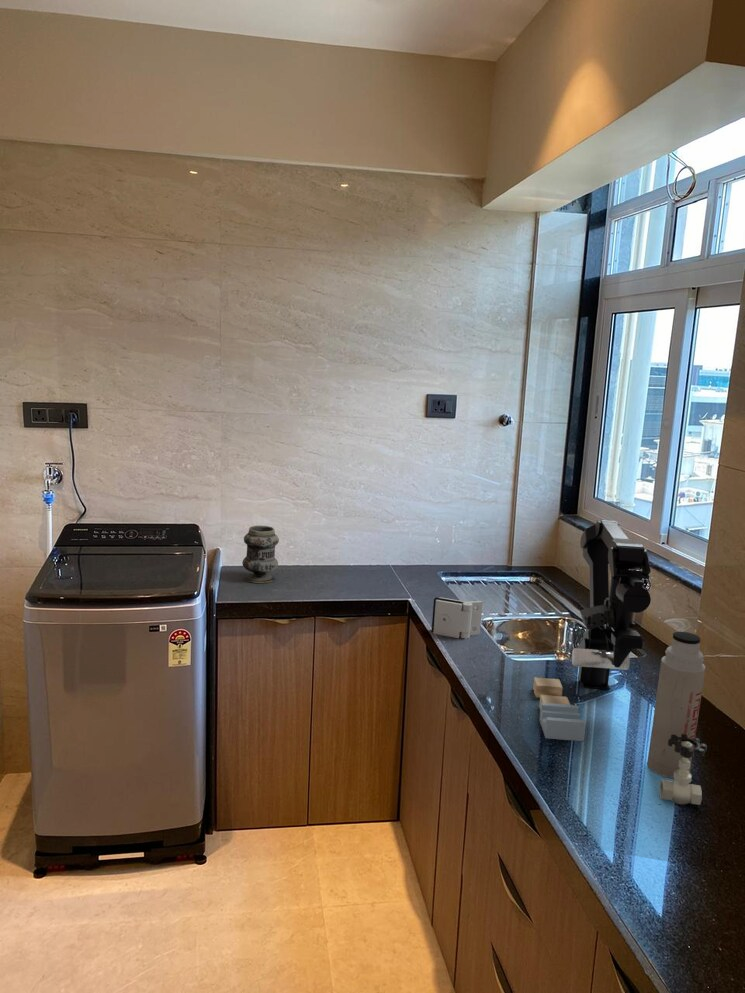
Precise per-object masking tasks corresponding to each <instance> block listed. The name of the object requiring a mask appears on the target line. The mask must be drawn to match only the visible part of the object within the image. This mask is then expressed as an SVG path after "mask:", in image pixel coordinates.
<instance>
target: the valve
mask: <svg viewBox="0 0 745 993" xmlns="http://www.w3.org/2000/svg"><path fill="white" fill-rule="evenodd" d="M682 741H684V742H683V743H682V745H681V742H682ZM700 742H701V740H700V738H698V737H695V738H693V739H690V738H688V736H687V735H686V734H681V737H677V735H674V734H672V735H671V739H669V740H668V745H669V746H671V747H672V744H674V745H675V749H674V751H675V752H677V753H680V755H681V756H682V758H681V759H680V760H679V766H678V767H680V768H679V769H678V770H675V771H674V778H673V779H674V780H668V779H660V780H659V797H660V799H661V800H667V801H672V802H673V803H675V804H678V805H687V804H692V805H699V806H700V805H701V803H702V798H703V794H702V786H701V785H700V784H693V783H691V782H692V774H691V772H690V773H689V771H688V769H689V768H690V761H689V760H688V758H691V757H692V758H693V757H694V756H696V755H698V756H700V757H704V756H705V752H707V749H708V745H707V744H706V743H700ZM691 743H692V744H694V748H692V746H693V745H692V744H691ZM690 769H691V768H690Z"/></svg>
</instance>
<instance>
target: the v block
mask: <svg viewBox="0 0 745 993" xmlns="http://www.w3.org/2000/svg"><path fill="white" fill-rule="evenodd" d="M579 710H580V707H579V704H578V705H574V704H570V705H566V704H553V703H541V710H540V709H539V723H540V727H541V729H542V732H543V734H544V738H545V739H549V740H550V739H553V740H564V741H577V742H585V740H584V739H585V733H586V724H587V723H586V720H585V719H580V716H581V714H580V713H579V712H580V711H579Z"/></svg>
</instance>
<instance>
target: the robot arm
mask: <svg viewBox="0 0 745 993" xmlns="http://www.w3.org/2000/svg"><path fill="white" fill-rule="evenodd" d="M579 544H580V548H581V549H582V557H583V558H584V560H585V562H586V564H588V566H589V607H588V608H584V609H581V610H580V616H581V620H582V623H583V625H584V626H585V631H584V633H583V638H582V640H581V641H580V643H578V644H579V645H578V646H577V648H579V649H593V650H608V651H613V653H614V666H615V667H620V666H621V664H622V663H623V662H624V660H625V659H626V657H627V656H628V655H629V656H630V653H631V652H632V651H633V650H634V649H635V650H643V649H644V648H645V639H644V638H643V636H642V635H641V634H640V632H638V631H637V630H633V629H636V623H635V622H634V615H635V614H634V613H637V614H638V613H642V612H644V611H646V610H647V609H648V608H649V606H650V604H651V600H652V598H651V594H650V592H649V591H648V590H647V589H646V588H645V587H644V581H643V580H649V579H650V573H651V572H652V571H651V566H650V565H651V564H650V560H649V555H648V553H647V550H646V549H645V547H644V545H643V544H642V543H640V542H639V541H635V540H631V539H629V537H628V536H627V535H626V534H625V532H624V530H622V528H621V527H620V523H619V521H617V520H608V519H599V520H596V522H595V524H593V525H591V526H589V527H586V528H585V529H584V531H583V532H582V534H581V536H580V543H579ZM609 571H610V575H611V576H610V577H609ZM609 579H610V580H609ZM609 582H610V583H609ZM609 584H610V585H609ZM610 671H611V669H609V668H595V667H581V666H578V672H577V673H578V674H577V678H578V680H579V682H580V683H581V685H582V688H589V689H599V690H600V689H603V690H610V689H611V687H610V685H609V679H610Z"/></svg>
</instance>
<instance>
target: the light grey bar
mask: <svg viewBox="0 0 745 993" xmlns="http://www.w3.org/2000/svg"><path fill="white" fill-rule="evenodd" d="M571 652H572V653H571V663H572V665H573V667H579V666H581V667H595V668H609V669H610V670H613V669H614V670H622V671H623V670H625V671H627V670H629V668H630V663H631V662H630V661H631V659H630V654H629V655H628V656H627V657H626V659H625V660H624V662H623V663H622V664H621V666H620V667H615V666H614V653H613V651H608V650H593V649H579V648H578V647H577V648H576V647H573V649H572V651H571Z"/></svg>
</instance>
